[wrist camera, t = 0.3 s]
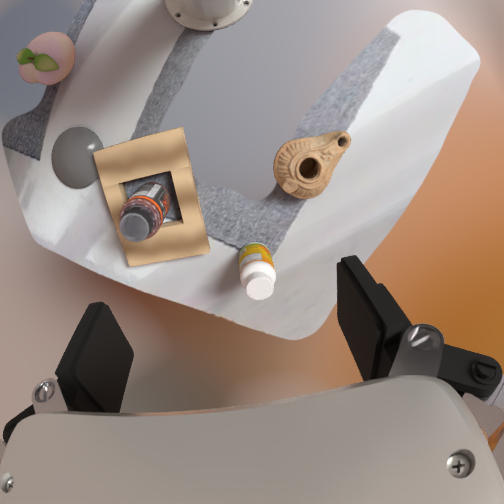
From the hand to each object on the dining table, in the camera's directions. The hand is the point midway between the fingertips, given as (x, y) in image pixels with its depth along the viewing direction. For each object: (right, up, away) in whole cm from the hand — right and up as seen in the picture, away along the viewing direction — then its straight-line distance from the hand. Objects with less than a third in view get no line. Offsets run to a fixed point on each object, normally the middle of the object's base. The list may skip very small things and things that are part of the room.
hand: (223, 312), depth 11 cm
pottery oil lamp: (+10, +17, +32) cm, 38 cm away
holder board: (-14, +11, +33) cm, 37 cm away
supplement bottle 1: (-14, +11, +33) cm, 38 cm away
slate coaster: (-27, +17, +28) cm, 43 cm away
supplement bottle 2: (+2, +2, +40) cm, 40 cm away
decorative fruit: (-28, +32, +20) cm, 47 cm away
